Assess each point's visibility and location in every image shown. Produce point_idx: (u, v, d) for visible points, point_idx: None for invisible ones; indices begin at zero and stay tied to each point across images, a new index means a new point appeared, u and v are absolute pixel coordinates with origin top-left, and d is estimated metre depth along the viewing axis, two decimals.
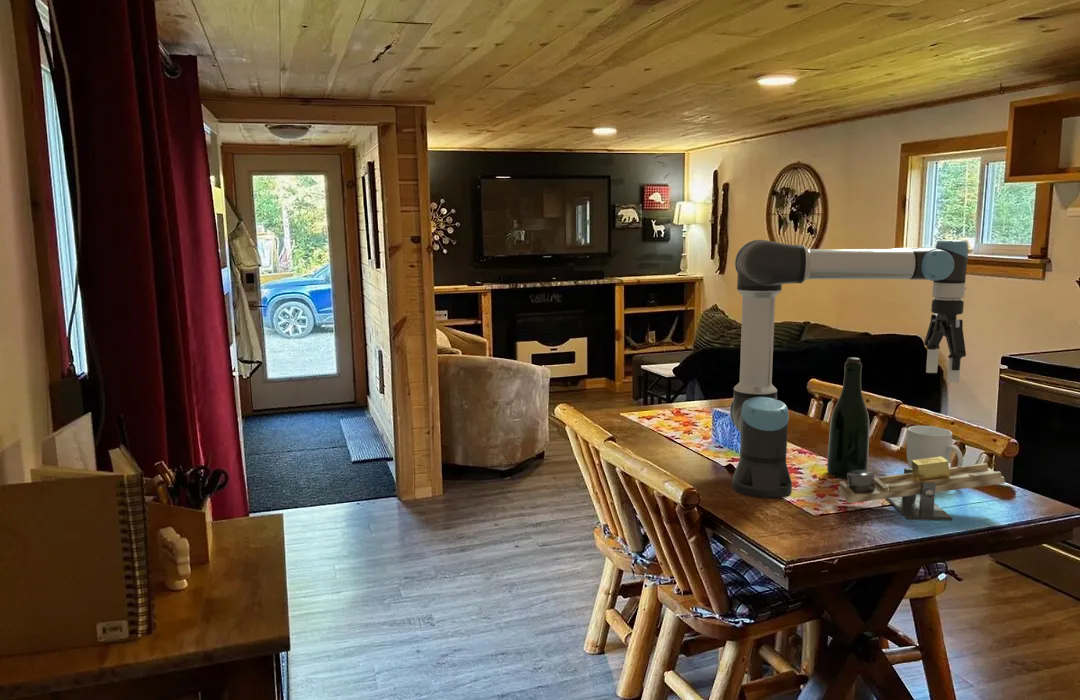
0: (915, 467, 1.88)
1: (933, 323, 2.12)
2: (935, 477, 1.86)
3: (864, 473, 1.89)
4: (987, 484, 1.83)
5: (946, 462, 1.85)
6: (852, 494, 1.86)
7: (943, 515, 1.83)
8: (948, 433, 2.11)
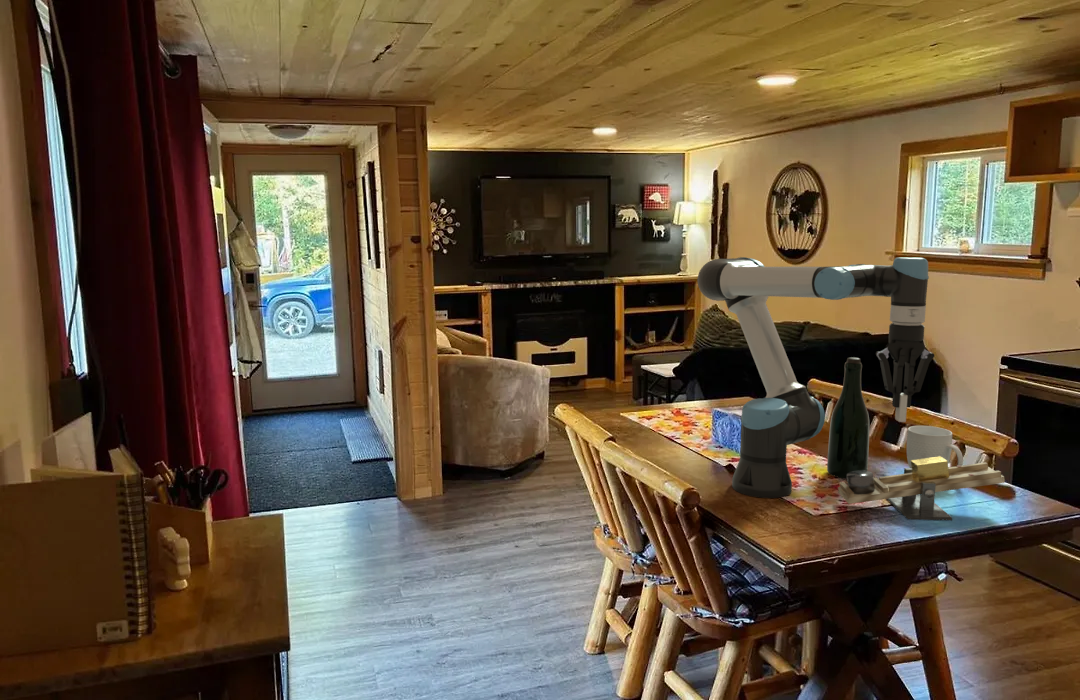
0: (914, 467, 1.88)
1: (921, 359, 1.85)
2: (934, 477, 1.86)
3: (864, 474, 1.89)
4: (987, 483, 1.83)
5: (945, 462, 1.85)
6: (852, 495, 1.86)
7: (943, 515, 1.83)
8: (948, 433, 2.11)
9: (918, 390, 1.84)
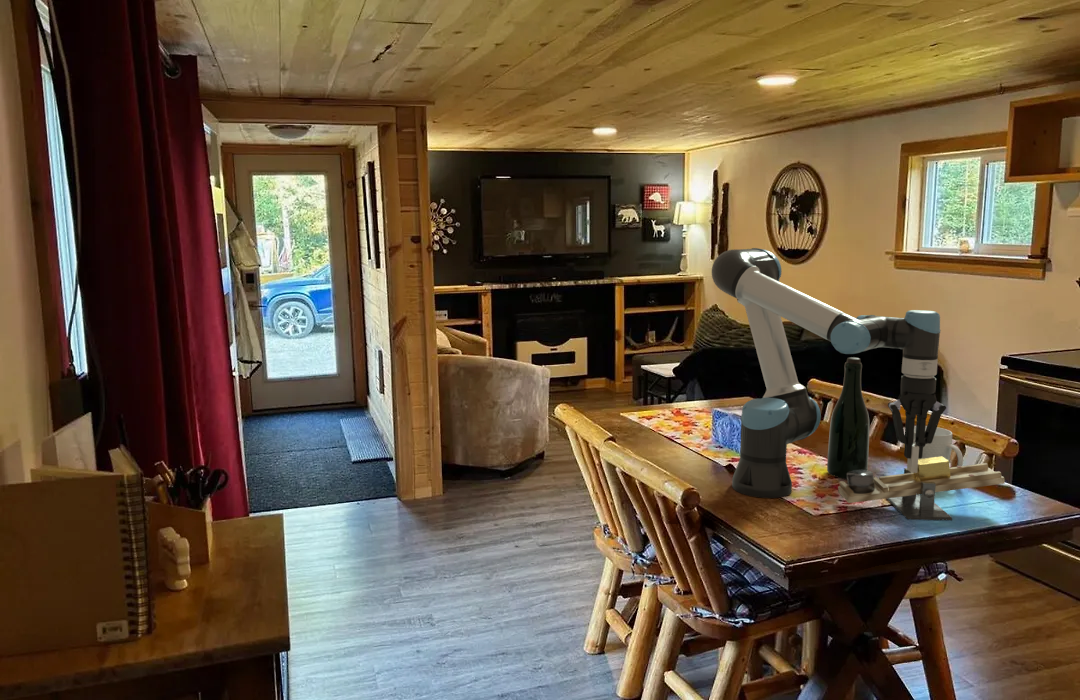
0: None
1: (933, 411, 1.86)
2: (936, 477, 1.86)
3: (864, 473, 1.89)
4: (987, 484, 1.83)
5: (947, 462, 1.85)
6: (852, 494, 1.86)
7: (943, 515, 1.83)
8: (948, 433, 2.11)
9: (930, 441, 1.85)
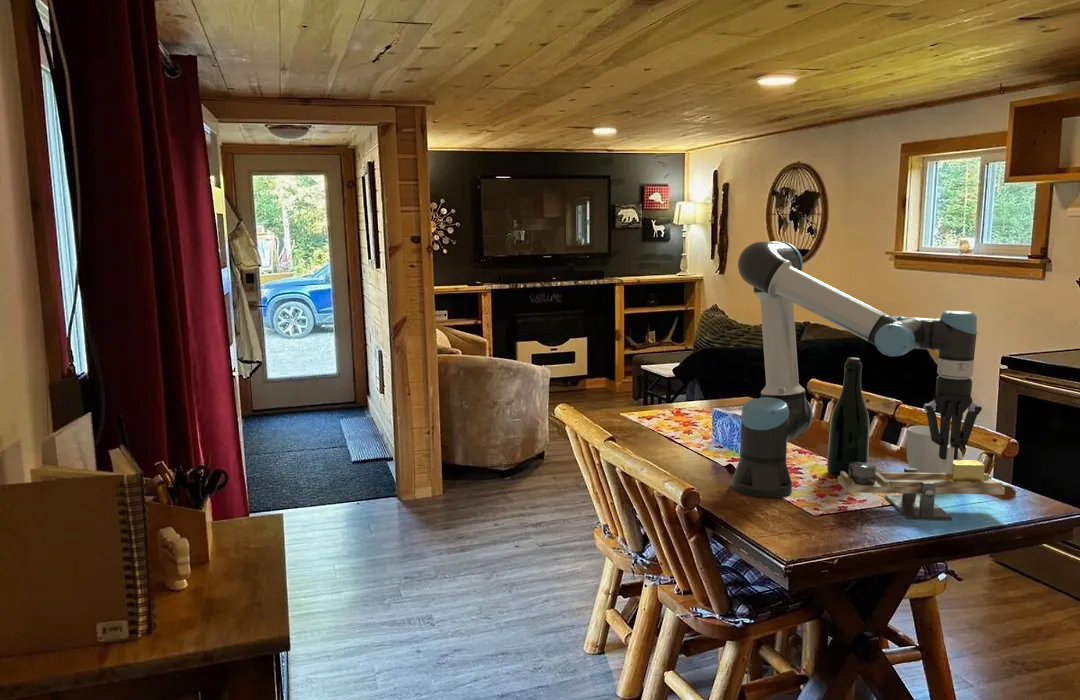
0: None
1: (968, 412, 1.85)
2: (969, 479, 1.85)
3: (867, 466, 1.89)
4: (987, 493, 1.83)
5: (982, 466, 1.85)
6: (853, 484, 1.86)
7: (943, 515, 1.83)
8: None
9: (965, 443, 1.85)
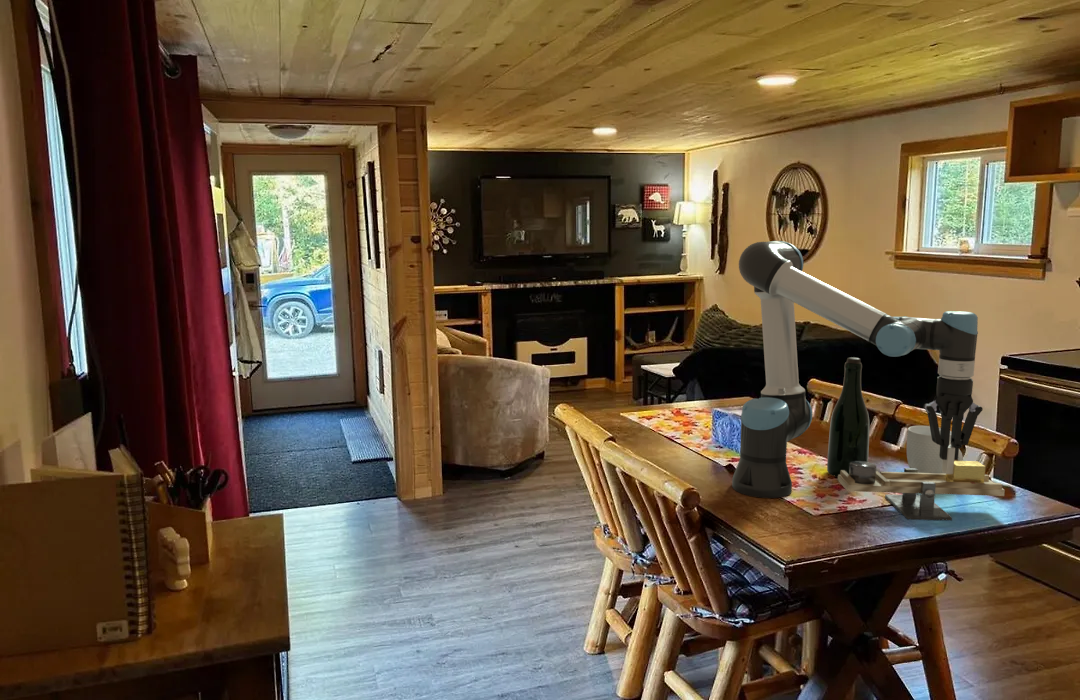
0: None
1: (969, 412, 1.86)
2: (969, 480, 1.85)
3: (867, 465, 1.88)
4: (987, 494, 1.83)
5: (983, 467, 1.85)
6: (853, 483, 1.86)
7: (943, 515, 1.83)
8: None
9: (966, 443, 1.85)
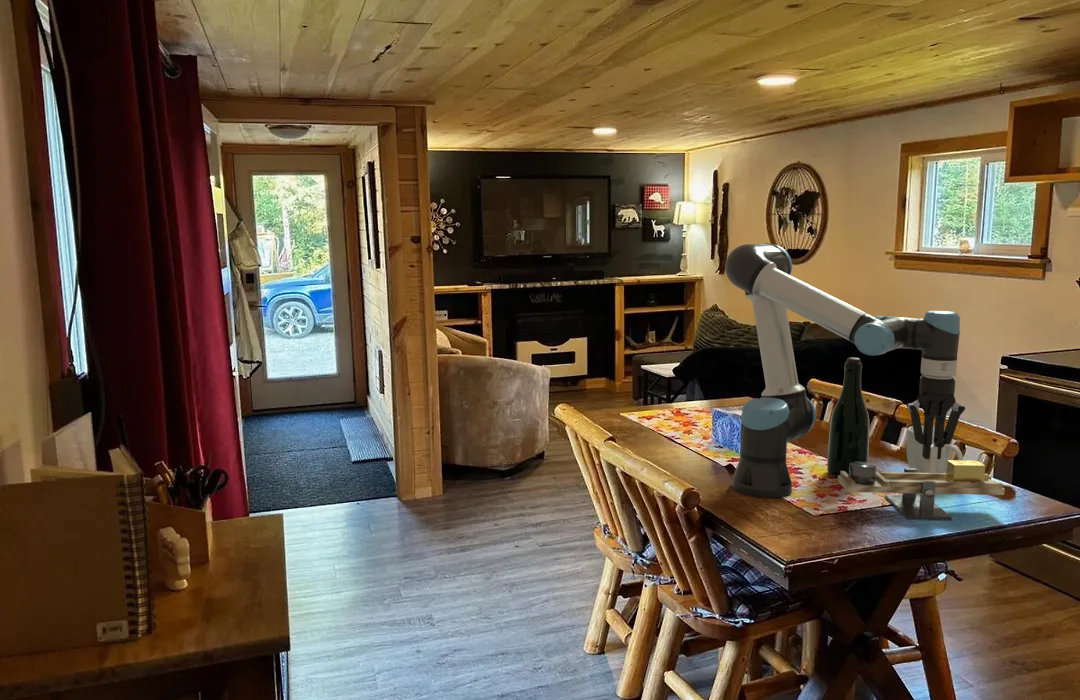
0: (950, 467, 1.87)
1: (951, 411, 1.86)
2: (969, 479, 1.85)
3: (867, 465, 1.89)
4: (987, 493, 1.83)
5: (983, 466, 1.85)
6: (853, 483, 1.86)
7: (943, 515, 1.83)
8: None
9: (948, 442, 1.85)
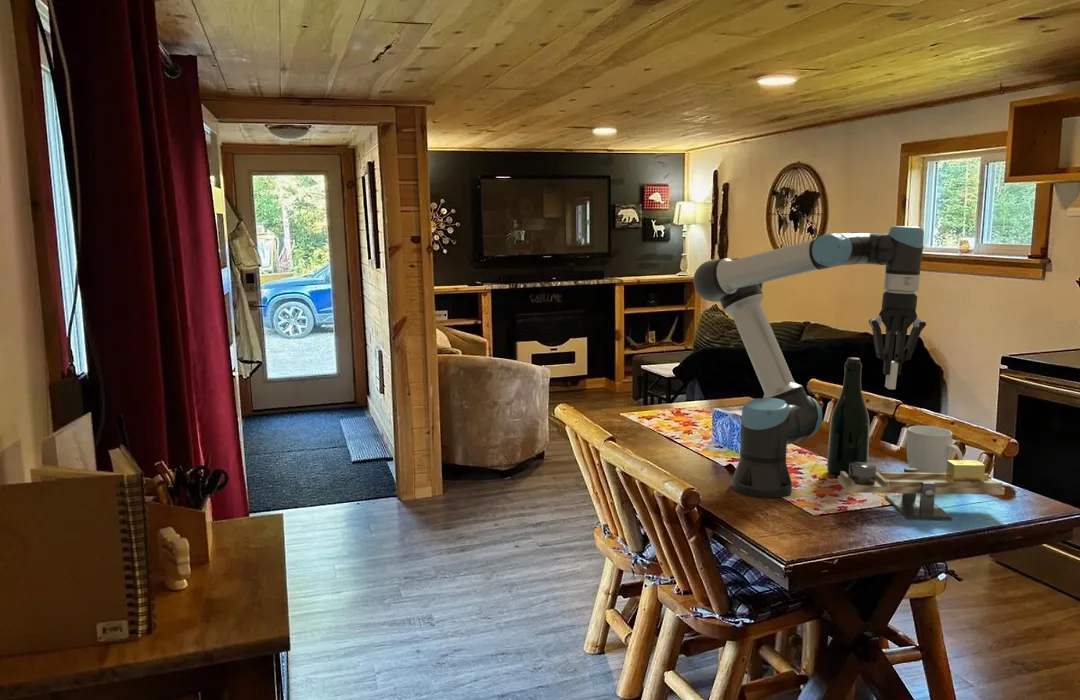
0: (950, 467, 1.87)
1: (913, 328, 1.87)
2: (969, 479, 1.85)
3: (867, 465, 1.89)
4: (987, 493, 1.83)
5: (983, 466, 1.85)
6: (853, 484, 1.86)
7: (943, 515, 1.83)
8: (948, 433, 2.11)
9: (909, 358, 1.86)
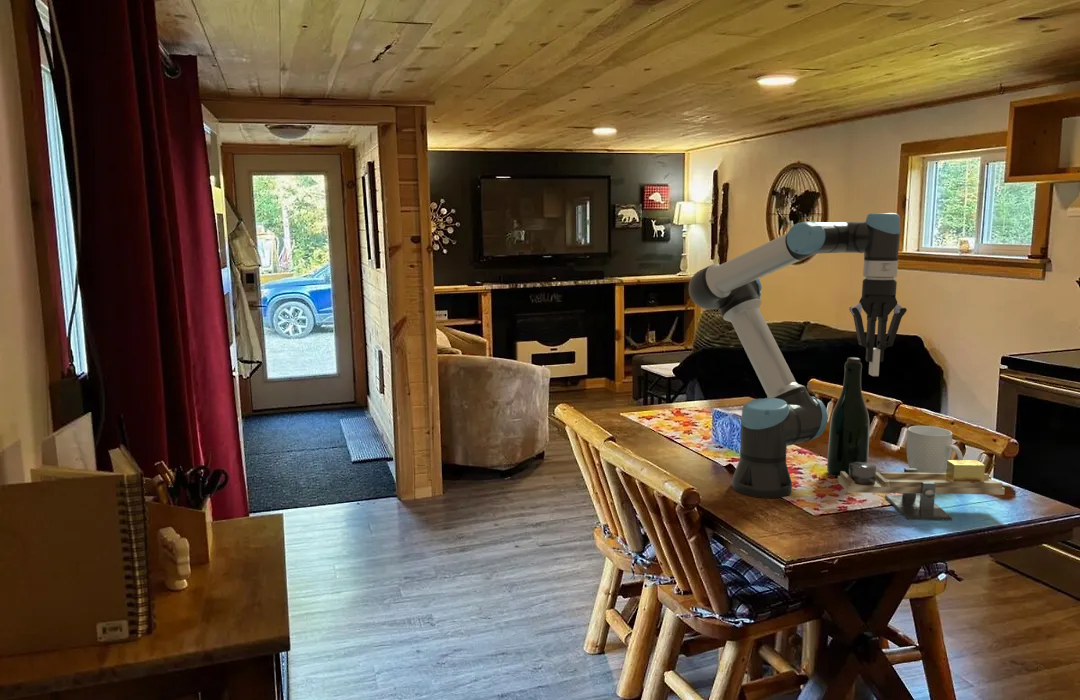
0: (950, 467, 1.87)
1: (894, 314, 1.87)
2: (969, 479, 1.85)
3: (867, 465, 1.89)
4: (987, 493, 1.83)
5: (983, 466, 1.85)
6: (853, 484, 1.86)
7: (943, 515, 1.83)
8: (948, 433, 2.11)
9: (891, 344, 1.86)
